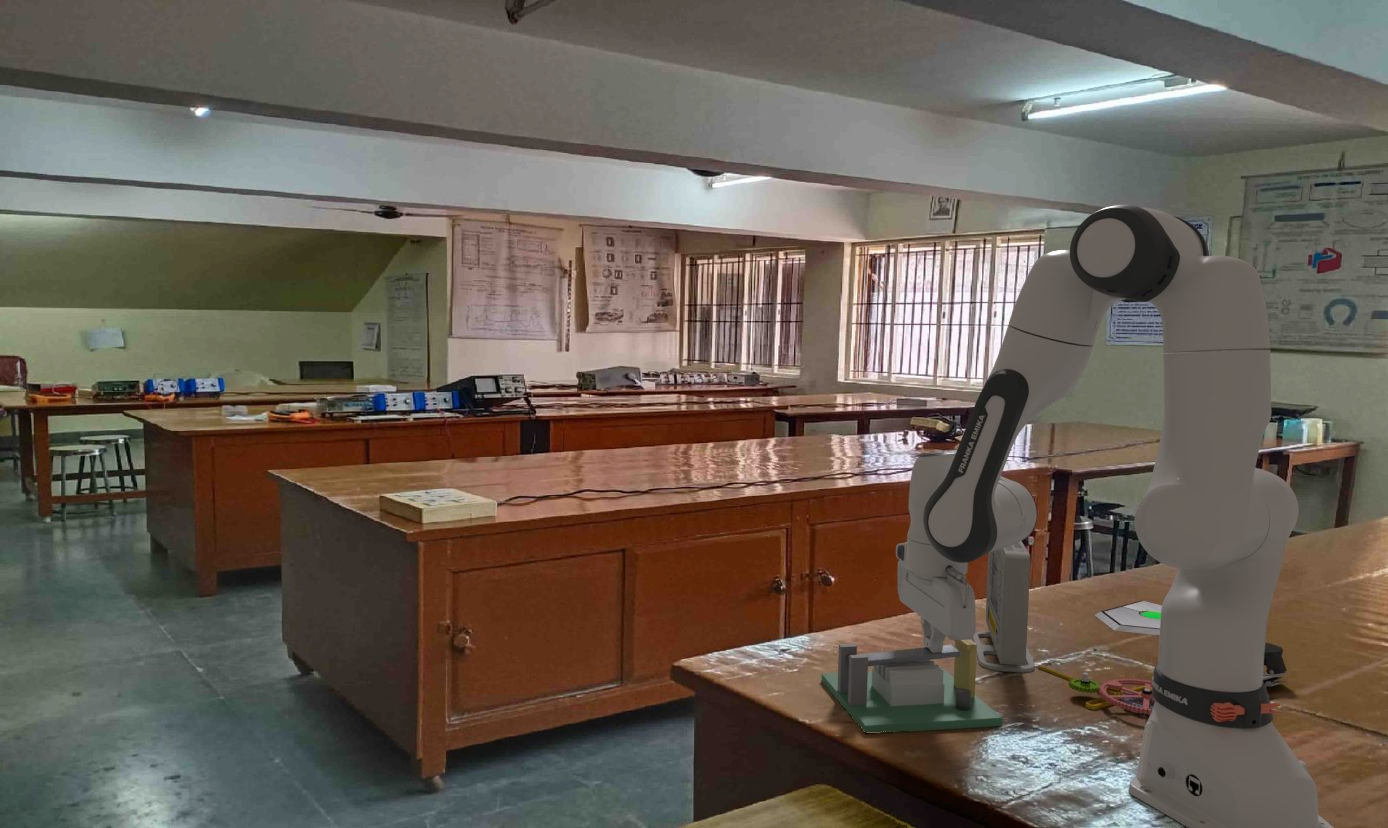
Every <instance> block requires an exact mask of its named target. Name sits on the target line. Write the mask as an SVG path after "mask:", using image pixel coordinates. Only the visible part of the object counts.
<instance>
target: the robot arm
mask: <svg viewBox="0 0 1388 828" xmlns="http://www.w3.org/2000/svg"><path fill="white" fill-rule="evenodd" d="M1073 233H1074V234H1073V236H1072V238H1071V241H1070V244H1069V245H1070V246H1069V249H1059V250H1052V251H1049V252H1047V253H1044V254H1043V255H1041V256H1039V258H1037V259H1036V260H1035V262H1034V263H1033V265H1032V267H1031V269H1030V270H1029V273H1028V274H1027V276H1026V278H1025V281H1024V283H1023V284H1022V287H1021V289H1020V292H1019V294H1018V295H1017V298H1016V301H1015V304H1014V306H1013V308H1012V311H1011V316H1010V318H1009V320H1008V325H1007V328H1006V331H1005V335H1004V338H1003V340H1002V343H1001V346H1000V348H999V352H998V355H997V357H996V359H995V363H994V365H993V367H992V369H991V372H990V373H989V375H988V378H987V380H986V381H985V382H984V385H983V387H982V389H981V392H980V393H979V395H978V398H977V400H976V402H975V404H974V407H973V409H972V410H971V414H970V415H969V416H970V417H969V419H968V421H967V423H966V426H965V429H964V431H963V434H962V437H961V439H960V442H959V444H958V447H957V449H946V450H939V451H931V452H925V453H924V452H923V454H920V455H919V456H918V457H917V458H916V459H915V460H914V463H913V466H912V470H911V475H910V483H909V491H908V492H909V493H908V513H909V515H910V524H909V528H908V531H907V537H906V541H905V542H901V543H900V542H899V543H897V544H896V546H895V556H896V558H897V559H898V562H897V594H898V598H899V600H900V602H901V603H902V604H904V605H905V606H907V607H908V608H909V609H910V610H911V611H913V612H915V613H916V614H917V615H918V616H919V617H920V625H921V626H920V627H921V630H922V634H923V647H926V648H927V649H929V650H930V651H931V652H932V653H937V652H942V650H943V645H944V641H945V638H948V639H949V640H951V641H954V640H969V639H970V640H973V636H974V634H975V633H976V630H977V629H976V621H977V620H976V617H977V615H976V613H977V612H976V598H975V592H974V588H973V587H972V586H971V585H970V584H969V583H968V581H967V575H966V574H967V573H968V571H969V563H970V562H974V561H976V560H978V559H980V558H981V557H984V556H985V555H988V553H990V552H993V551H996V550H999V549H1002V548H1005V547H1007V546H1010V545H1013V544H1016V543H1018V542H1020V541H1022V542H1023V541H1025V539H1027V538H1028V537H1029V536H1030V535H1031V534H1032V533H1033V531H1034V529H1035V528H1036V525H1037V521H1038V508H1037V504H1036V500H1035V498H1034V496H1033V495H1032V493H1031V491H1029V489H1028V488H1027V487H1026V486H1025V485H1023V484H1022V483H1020V482H1019V481H1017V480H1014V479H1008V478H1006V477H1004V476H1002V474H1003V471H1004V469H1005V466H1006V465H1007V461H1008V459H1009V456H1010V454H1011V451H1012V449H1013V446H1014V443H1015V441H1016V439H1017V438H1018V436H1019V435H1020V433H1021V431H1022V430H1023V428H1025V426H1026V425H1027V424H1028V423H1029V422H1030V421H1031V420H1033V419H1034V418H1036V417H1037V416H1038V415H1039V414H1040V413H1041V412H1043V411H1044V410H1045V409H1047V408H1049V407H1050V406H1052V405H1053V404H1055V403H1057V402H1058V401H1060V400H1063V399H1064V398H1065V397H1067V396H1068V395H1069V394H1071V393H1072V391H1074V389H1075V387H1076V386H1077V385H1078V384H1079V383H1078V382H1079V381H1080V379H1081V377H1082V376H1083V373H1084V372H1085V369H1086V367H1087V365H1088V363H1089V360H1090V358H1091V354H1092V352H1093V348H1094V344H1095V342H1096V338H1097V334H1098V331H1099V328H1100V325H1101V323H1102V321H1103V319H1104V316H1105V314H1106V313H1107V311H1108V310H1109V309H1110V308H1111V307H1112V306H1113V305H1116V303H1118V302H1124V303H1128V304H1129V303H1147V302H1149V303H1150V304H1152V305H1153V306H1154V307H1155V308H1156V310H1157V311H1158V313H1159V315H1160V318H1161V324H1162V333H1163V335H1162V337H1163V338H1162V339H1163V340H1162V343H1163V345H1162V348H1163V349H1162V351H1163V352H1162V353H1164V354H1163V358H1162V359H1163V419H1162V426H1161V435H1160V437H1159V438H1160V439H1159V445H1158V447H1157V452H1156V457H1155V463H1154V466H1153V470H1152V474H1151V479H1150V482H1149V485H1148V487H1147V490H1146V491H1145V493H1144V494H1143V496H1142V498H1141V499H1140V501H1139V503H1138V505H1137V507H1136V510H1135V513H1134V530H1135V533H1136V534H1135V535H1136V536H1137V539H1138V541H1139V543H1140V545H1141V546H1142V549H1144V551H1146V553H1148V555H1149V556H1151V558H1153V559H1154V560H1156V561H1157V562H1158V563H1161V564H1162V565H1165V566H1168V567H1171V568H1177V571H1176V572H1177V573H1176V575H1175V577H1174V580H1173V583H1172V585H1171V586H1170V589H1169V591H1168V592H1167V595H1165V597H1164V600H1163V601H1162V604H1161V605H1162V608H1161V623H1160V635H1159V640H1158V642H1159V643H1158V659H1157V664H1156V665H1154V668H1153V675H1152V677H1151V681H1152V686H1153V687H1152V696H1153V698H1154V699H1155V703H1154V707H1153V709H1152V712H1151V715H1149V717H1148V719H1147V720H1146V722H1145V724H1144V729H1143V735H1142V742H1141V746H1140V747H1141V748H1140V753H1139V758H1138V759H1139V760H1138V766H1137V771H1136V776H1135V777H1134V778H1132V779H1131V780H1130V782H1129V786H1128V792H1129V794H1131V795H1132V796H1134V797H1135V798H1137V799H1139V800H1141V801H1142V802H1144V803H1145V804H1147V805H1149V806H1151V807H1153V808H1154V809H1156V810H1157V811H1159V812H1161V813H1163V814H1164V815H1166V816H1168V817H1169V818H1171V819H1173V820H1174V821H1177V822H1178V823H1180V824H1181V825H1183V826H1185V827H1187V828H1335V827H1334V826H1332V825H1331V824H1330V823H1329V822H1328V821H1326V820H1325V819H1324V818H1323V817H1322V816H1320V815H1319V805H1318V803H1319V802H1318V801H1319V799H1318V792H1317V787H1316V784H1315V780H1314V779H1313V778H1312V776H1311V775H1310V771H1309V767H1308V765H1307V764H1306V763H1305V761H1303V760H1299V759H1298V757H1297V756H1296V754H1295V753H1294V752H1293V750H1292V749H1291V748H1290V746H1289V745H1288V744H1287V742H1286V740H1284V738H1283V737H1282V735H1281V734H1280V733H1279V731H1278V730H1277V728H1276V727H1275V726H1274V724H1273V720H1274V716H1273V714H1280V710H1275V709H1276V708H1277V707H1281V703H1279V702H1272V703H1271V701H1270V695H1269V693H1268V689H1267V687H1266V685H1265V684H1264V682H1263V681H1262V679H1263V674H1264V666H1265V665H1264V653H1265V643H1266V641H1267V640H1266V638H1267V629H1268V628H1267V627H1268V621H1269V620H1268V619H1269V614H1270V610H1271V605H1272V602H1273V601H1272V600H1273V596H1274V594H1275V590H1276V587H1277V584H1278V579H1279V577H1280V572H1281V569H1282V565H1283V561H1284V556H1285V551H1286V548H1287V543H1288V541H1289V538H1290V535H1291V534H1292V532H1293V530H1294V529H1295V526H1297V525H1296V524H1297V522H1298V518H1299V511H1300V510H1299V502H1298V498H1297V496H1296V494H1295V492H1294V490H1293V488H1292V487H1291V486H1290V485H1289V484H1288V483H1287V482H1286V480H1285V479H1283V478H1281V477H1280V476H1279V475H1277V474H1274V473H1272V472H1270V471H1267V470H1266V469H1262V468H1259V467H1258V468H1257V460H1258V457H1259V451H1260V447H1261V444H1262V441H1263V440H1262V439H1263V437H1264V434H1265V431H1266V430H1267V427H1268V426H1269V424H1270V421H1271V417H1272V381H1271V378H1272V376H1271V375H1272V373H1271V370H1272V369H1271V340H1270V339H1271V336H1270V335H1271V334H1270V327H1269V326H1270V325H1269V324H1270V323H1269V315H1268V310H1267V309H1268V308H1267V304H1266V299H1265V298H1266V297H1265V295H1264V289H1263V286H1262V281H1261V278H1260V274H1259V272H1258V271H1257V269H1256V268H1255V266H1253V264H1251V263H1249V262H1247V261H1246V260H1244V259H1241V258H1237V257H1235V256H1228V255H1210V251H1209V246H1208V243H1207V241H1206V238H1205V237H1204V235H1202V233H1201V232H1200V230H1199V229H1197V227H1195V225H1193V224H1192V223H1190V221H1187V220H1184V219H1182V218H1180V217H1175V216H1174V215H1171V214H1169V213H1167V212H1165V211H1162V210H1160V209H1156V208H1152V207H1144V206H1143V207H1142V206H1137V205H1133V204H1115V205H1111V206H1107V207H1103V208H1102V209H1099V210H1097V211H1095V212H1093V213H1091V214H1090V215H1089V216H1087V217H1086V218H1085V219H1084V220H1083V221H1082V222H1081V223H1080V224H1079V226H1078V227H1077V229H1076V230H1075V232H1073ZM1274 708H1275V709H1274ZM1272 709H1273V710H1272Z"/></svg>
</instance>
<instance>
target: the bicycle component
mask: <svg viewBox="0 0 1388 828" xmlns="http://www.w3.org/2000/svg"><path fill="white" fill-rule="evenodd" d="M1283 652H1284V648H1283V647H1282V646H1278V645H1275V644H1273V643H1268V642H1265V653H1264V666H1265V667H1266V670H1265V672H1266V673H1264V672H1263V679H1262V681H1263V682H1264V684H1265V685H1266V688H1267V687H1273V686H1277V685H1281V684H1283V683H1287V681H1285V680H1279V679H1282V678H1284V677H1281V676H1284V675H1288V674H1289V673H1288V672H1287V667H1286V665H1285V662H1284V659H1283Z"/></svg>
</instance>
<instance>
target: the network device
mask: <svg viewBox="0 0 1388 828" xmlns="http://www.w3.org/2000/svg"><path fill="white" fill-rule="evenodd" d="M987 555H988V556H987V557H988V559H987V578H986V597H985V598H986V602H985V605H986V606H985V621H986V622H985V623H986V625H987V629H988V631H975V634H974V636H973V638H972V641H973V642H974V643H976V644H977V654H976V658H977V661H978V664H979V665H980V666H981V667H982V668H984V669H987V670H992V671H997V672H998V671H1001V672H1010V673H1011V672H1012V673H1013V672H1014V673H1029V672H1033V671H1034V670H1035V667H1036V666H1035V662H1034V660H1033V657H1032V655H1031V652H1030V651H1029V648H1028V646H1027V644H1028V641H1027V639H1028V620H1029V619H1028V618H1029V598H1030V597H1029V596H1030V578H1031V577H1030V575H1031V555H1030V553H1029V551H1028V549H1027V548H1026V546H1025V545H1024V543H1023V540H1022V541H1020V542H1018V543H1016V544H1013V545H1010V546H1007V547H1005V548H1002V549H999V550H996V551H993V552H990V553H987ZM982 637H983V638H991V640H992V644H993V645H991V644H990V645H989V644H988V645H987V644H983V643H981V641H980V638H982ZM985 655H993V656H994V655H996V656H997V658H998V661H999V663H998V664H997V663H996V664H995V663H989V662H987V661H986V658H985Z"/></svg>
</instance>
